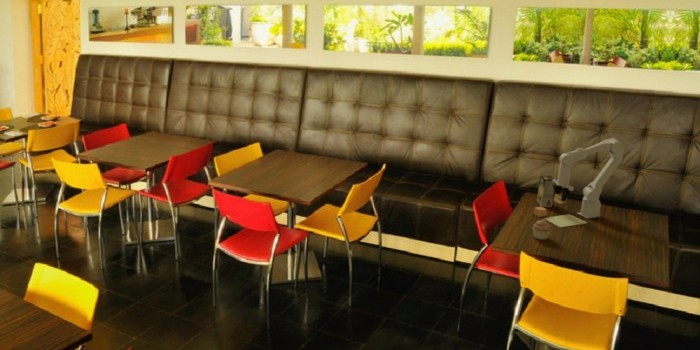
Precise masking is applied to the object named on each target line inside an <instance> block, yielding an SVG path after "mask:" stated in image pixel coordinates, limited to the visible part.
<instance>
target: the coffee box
mask: <svg viewBox="0 0 700 350" xmlns="http://www.w3.org/2000/svg"><path fill="white" fill-rule="evenodd" d="M553 179H555V178H554V176H552V175H540V176H539V184H538V191H537V198H536V203H538V205H539V207H543V208H552V206H553V202H554V195H555V191H554V188H553V185H555V183H552V180H553Z"/></svg>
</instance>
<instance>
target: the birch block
mask: <svg viewBox="0 0 700 350" xmlns="http://www.w3.org/2000/svg"><path fill="white" fill-rule="evenodd" d="M567 200H568V198H567V199H566V201H562V192H561V193H560V194H555V193H554V197H553V202H555V203H556V204H557V203H558V204H559V205H560V204H561V205H562V204H567Z"/></svg>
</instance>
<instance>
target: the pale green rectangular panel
mask: <svg viewBox="0 0 700 350" xmlns="http://www.w3.org/2000/svg"><path fill="white" fill-rule="evenodd" d="M542 219H544V220H545V221H546V222H548V223H551V224H553V225H554V226H556V227H558V228H567V227H573V226H574V227H575V226H579V225H585V224H588V222H586V221H585V220H582V219H581V218H578V217H577V216H574V215H572V214H570V213H568V214H567V213H566V214H563V215H555V216H549V217H543V218H542Z"/></svg>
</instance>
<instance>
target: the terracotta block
mask: <svg viewBox="0 0 700 350" xmlns="http://www.w3.org/2000/svg"><path fill="white" fill-rule="evenodd" d="M534 214H535V216H536V215H537V216H536V217H538V218H542V217H543V218H544V217H546V216H547V208H546V207H541V206H535V207H534V208H533V215H534Z"/></svg>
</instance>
